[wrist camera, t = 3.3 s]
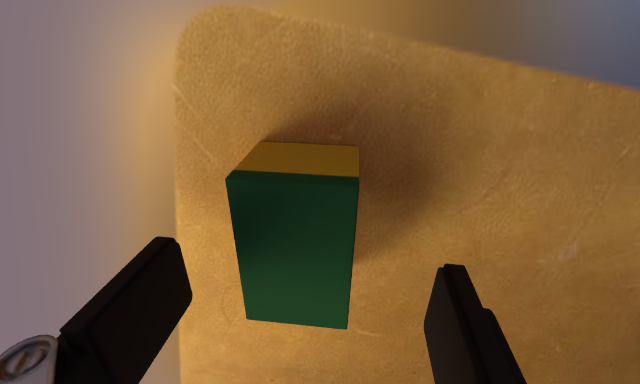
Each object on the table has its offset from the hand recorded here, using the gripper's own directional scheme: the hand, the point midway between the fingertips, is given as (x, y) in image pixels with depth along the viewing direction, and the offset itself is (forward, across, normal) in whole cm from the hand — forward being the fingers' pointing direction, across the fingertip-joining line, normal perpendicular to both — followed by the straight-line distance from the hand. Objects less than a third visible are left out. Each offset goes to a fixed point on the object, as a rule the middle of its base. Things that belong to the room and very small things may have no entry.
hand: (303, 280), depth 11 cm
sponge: (+5, +1, 0) cm, 5 cm away
